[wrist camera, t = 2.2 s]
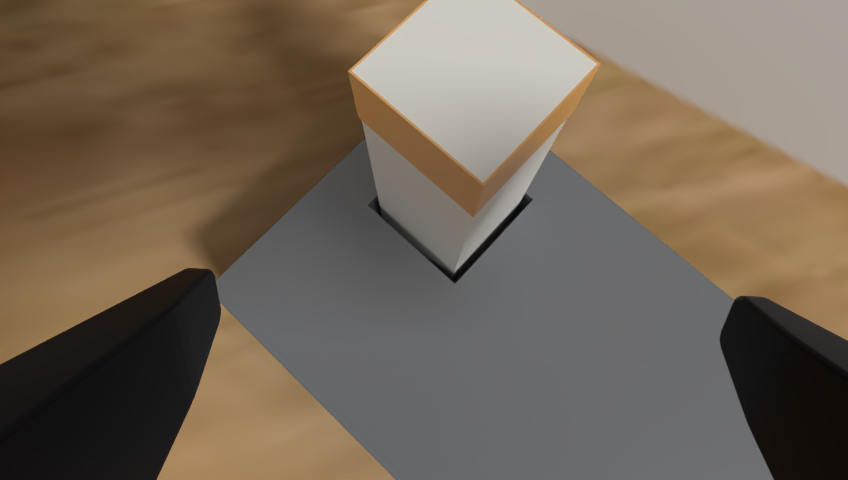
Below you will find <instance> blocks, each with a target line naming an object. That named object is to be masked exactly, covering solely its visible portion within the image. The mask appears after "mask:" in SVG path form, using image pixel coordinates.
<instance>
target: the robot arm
mask: <svg viewBox="0 0 848 480" xmlns="http://www.w3.org/2000/svg"><path fill="white" fill-rule="evenodd" d="M220 316H221V307H220V301H219V296H218V290H217V285H216V280H215V276H214V273H213V272H212V271H211V270H210V269H198V268H187V269H184V270H183V271H181V272H179V273H177V274H175V275H173V276H171V277H169V278H167V279H165V280H163V281H161V282H159V283H157V284H155V285H153V286H152V287H150V288H148V289H146V290H144V291H142V292H140V293H138V294H136V295H134V296H132V297H130V298H128V299H126V300H124V301H122V302H121V303H119V304H117V305H115V306H113V307H111V308H109V309H107V310H105V311H103V312H101V313H99V314H97V315H95V316H93V317H91V318H89V319H88V320H86V321H84V322H82V323H80V324H78V325H76V326H74V327H72V328H70V329H68V330H66V331H64V332H62V333H60V334H58V335H57V336H55V337H53V338H51V339H49V340H47V341H45V342H43V343H41V344H39V345H37V346H35V347H33V348H31V349H29V350H27V351H25V352H24V353H22V354H20V355H18V356H16V357H14V358H12V359H10V360H8V361H6V362H4V363H2V364H0V480H157V477H158V475H159V473H160V471H161V469H162V467H163V465H164V462H165V460H166V458H167V456H168V454H169V452H170V449H171V447H172V445H173V443H174V441H175V439H176V437H177V434H178V432H179V430H180V428H181V426H182V424H183V421H184V419H185V417H186V415H187V413H188V411H189V408H190V406H191V404H192V401H193V399H194V397H195V394H196V391H197V389H198V386H199V383H200V380H201V377H202V374H203V371H204V368H205V364H206V361H207V358H208V355H209V352H210V349H211V346H212V343H213V340H214V337H215V334H216V331H217V328H218V325H219V321H220ZM720 346H721V350H722V353H723V356H724V358H725V361H726V364H727V367H728V370H729V373H730V376H731V379H732V381H733V384H734V387H735V390H736V393H737V396H738V399H739V402H740V404H741V407H742V410H743V413H744V416H745V418H746V421H747V423H748V426H749V428H750V430H751V433H752V435H753V437H754V439H755V441H756V443H757V446H758V448H759V450H760V452H761V454H762V456H763V458H764V460H765V462H766V464H767V467H768V469H769V471H770V473H771V475H772V477H773V479H774V480H848V341H847V340H845V339H843V338H841V337H840V336H838V335H836V334H834V333H832V332H830V331H828V330H826V329H824V328H822V327H820V326H819V325H817V324H815V323H813V322H811V321H809V320H807V319H805V318H803V317H801V316H799V315H797V314H796V313H794V312H792V311H790V310H788V309H786V308H784V307H782V306H780V305H778V304H776V303H775V302H773V301H771V300H769V299H767V298H764V297H756V296H740V297H738V298H736V299H735V300H734V302H733V304H732V306H731V308H730V311H729V313H728V315H727V318H726V320H725V323H724V325H723V328H722V330H721V333H720Z"/></svg>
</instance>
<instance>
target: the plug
mask: <svg viewBox="0 0 848 480" xmlns="http://www.w3.org/2000/svg"><path fill="white" fill-rule="evenodd" d="M599 66H600V63H599V62H598V61H596V60H595V59H594V58H592V57H591V56H590V55H588V54H587V53H586V52H585V51H583V50H582V49H581V48H579V47H578V46H577V45H575V44H574V43H573V42H571V41H570V40H569V39H568V38H566V37H565V36H564V35H562V34H561V33H560V32H558V31H557V30H556V29H554V28H553V27H552V26H551V25H549V24H548V23H547V22H545V21H544V20H543V19H541V18H540V17H539V16H537V15H536V14H535V13H533V12H532V11H531V10H530V9H528V8H527V7H526V6H524V5H523V4H522V3H520V2H519V1H518V0H425V1H424V2H423V3H422V4H421V5H420V6H419V7H417V8H416V9H415V10H414V11H413V12H412V13H411V14H410V15H409V16H408V17H406V18H405V19H404V20H403V21H402V22H401V23H400V24H399V25H398V26H397V27H396V28H394V29H393V30H392V31H391V32H390V33H389V34H388V35H387V36H386V37H385V38H383V39H382V40H381V41H380V42H379V43H378V44H377V45H376V46H375V47H374V48H373V49H371V50H370V51H369V52H368V53H367V54H366V55H365V56H364V57H363V58H362V59H360V60H359V61H358V62H357V63H356V64H355V65H354V66H353V67H352V68H351V69H350V70H348V74H349V78H350V83H351V87H352V92H353V96H354V101H355V105H356V110H357V114H358V118H359V119H360V120H362V124H363V129H364V133H365V138H366V143H367V148H368V152H369V157H370V162H371V167H372V171H373V176H374V181H375V186H376V190H377V195H378V200H379V205H380V209H381V214H382V218H383V219H384V220H385V221H386V222H387V223H388V224H389V225H390V226H391V227H393V228H394V229H395V230H396V231H397V232H398V233H399V234H400V235H401V236H403V237H404V238H405V239H406V240H407V241H408V242H409V243H410V244H411V245H413V246H414V247H415V248H416V249H417V250H418V251H419V252H420V253H421V254H422V255H424V256H425V257H426V258H427V259H428V260H429V261H430V262H431V263H432V264H434V265H435V266H436V267H437V268H438V269H439V270H440V271H441V272H442V273H444V274H445V275H446V276H447V277H448V278H449V279H450V280H451V281H452V282H453V281H454V280H455V279H456V278H457V277H458V276H459V275H460V274H461V273H462V272H463V271H464V269H465V268H466V267H467V266H468V265H469V264H470V263H471V262H472V261H473V260H474V259H475V258H476V256H477V255H478V254H479V253H480V252H481V251H482V250H483V249H484V248H485V247H486V246H487V245H488V243H489V242H490V241H491V240H492V239H493V238H494V237H495V236H496V235H497V234H498V233H499V232H500V231H501V229H502V228H503V227H504V226H505V225H506V224H507V223H508V222H509V221H510V219H511V218H512V216H513V214H514V212H515V210H516V209H517V207H518V205H519V203H520V201H521V200H522V198H523V196H524V194H525V192H526V191H527V189H528V187H529V185H530V184H531V182H532V180H533V178H534V176H535V175H536V173H537V171H538V169H539V167H540V166H541V164H542V162H543V160H544V158H545V157H546V155H547V153H548V151H549V150H550V148H551V146H552V144H553V142H554V141H555V139H556V137H557V135H558V133H559V132H560V130H561V128H562V126H563V124H564V123H565V121H566V119H567V118H568V117H569V116H570V115H571V114H572V112H573V111H574V110H575V108H576V106H577V105H578V103H579V101H580V99H581V98H582V96H583V94H584V92H585V91H586V89H587V87H588V85H589V84H590V82H591V80H592V78H593V77H594V75H595V73H596V71H597V70H598V68H599Z"/></svg>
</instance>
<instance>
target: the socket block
mask: <svg viewBox="0 0 848 480" xmlns="http://www.w3.org/2000/svg"><path fill="white" fill-rule="evenodd" d="M216 285H217V290H218V296H219V301H220V303H221V304H222V305H223V306H224V307H225V308H226V309H227V310H228V311H229V312H230V313H231V314H232V315H233V316H234V317H235V318H236V319H237V320H238V321H239V322H240V323H241V324H242V325H243V326H244V327H245V328H246V329H247V330H248V331H249V332H250V333H251V334H252V335H253V336H254V337H255V338H256V339H257V340H258V341H259V342H260V343H261V344H262V345H263V346H264V347H265V348H266V349H267V350H268V351H269V352H270V353H271V354H272V355H273V356H274V357H275V358H276V359H277V360H278V361H279V362H280V363H281V364H282V365H283V366H284V367H285V368H286V369H287V370H288V371H289V372H290V374H291V375H292V376H293V377H294V378H295V379H296V380H297V381H298V382H299V383H300V384H301V385H302V386H303V387H304V388H305V389H306V390H307V391H308V392H309V393H310V394H311V395H312V396H313V397H314V398H315V399H316V400H317V401H318V402H319V403H320V404H321V405H322V406H323V407H324V408H325V409H326V410H327V411H328V412H329V413H330V414H331V415H332V416H333V417H334V418H335V419H336V420H337V421H338V422H339V423H340V424H341V425H342V426H343V427H344V428H345V429H346V430H347V431H348V432H349V433H350V434H351V435H352V436H353V437H354V438H355V439H356V440H357V441H358V442H359V443H360V444H361V445H362V446H363V447H364V448H365V449H366V450H367V451H368V452H369V453H370V454H371V455H372V456H373V457H374V458H375V459H376V460H377V461H378V462H379V463H380V464H381V465H382V466H383V467H384V468H385V469H386V470H387V471H388V472H389V473H390V474H391V475H392V476H393V477H394V478H395V479H396V480H774V479H773V477H772V475H771V473H770V471H769V469H768V467H767V464H766V462H765V460H764V458H763V456H762V454H761V452H760V450H759V448H758V446H757V443H756V441H755V439H754V437H753V435H752V433H751V430H750V428H749V426H748V423H747V421H746V418H745V416H744V413H743V410H742V407H741V404H740V402H739V399H738V396H737V393H736V390H735V387H734V384H733V381H732V379H731V376H730V373H729V370H728V367H727V364H726V361H725V358H724V356H723V353H722V350H721V346H720V333H721V330H722V328H723V325H724V323H725V320H726V318H727V315H728V313H729V311H730V308H731V306H732V304H733V302H734V300H733V299H732V298H731V297H730V296H728V295H727V294H726V293H725V292H723V291H722V290H721V289H720V288H719V287H717V286H716V285H715V284H714V283H712V282H711V281H710V280H709V279H708V278H706V277H705V276H704V275H703V274H701V273H700V272H699V271H698V270H696V269H695V268H694V267H693V266H692V265H690V264H689V263H688V262H687V261H685V260H684V259H683V258H682V257H681V256H679V255H678V254H677V253H676V252H674V251H673V250H672V249H671V248H669V247H668V246H667V245H666V244H665V243H663V242H662V241H661V240H660V239H658V238H657V237H656V236H655V235H653V234H652V233H651V232H650V231H649V230H647V229H646V228H645V227H644V226H642V225H641V224H640V223H639V222H638V221H636V220H635V219H634V218H633V217H631V216H630V215H629V214H628V213H626V212H625V211H624V210H623V209H622V208H620V207H619V206H618V205H617V204H615V203H614V202H613V201H612V200H611V199H609V198H608V197H607V196H606V195H604V194H603V193H602V192H601V191H599V190H598V189H597V188H596V187H595V186H593V185H592V184H591V183H590V182H588V181H587V180H586V179H585V178H583V177H582V176H581V175H580V174H579V173H577V172H576V171H575V170H574V169H572V168H571V167H570V166H569V165H568V164H566V163H565V162H564V161H563V160H561V159H560V158H559V157H558V156H556V155H555V154H554V153H553V152H552V151H550V150H549V151H548V153H547V155H546V157H545V158H544V160H543V162H542V164H541V166H540V167H539V169H538V171H537V173H536V175H535V176H534V178H533V180H532V182H531V184H530V185H529V187H528V189H527V191H526V192H525V194H524V196H523V198H522V200H521V201H520V203H519V205H518V207H517V209H516V210H515V212H514V214H513V216H512V218H511V219H510V221H509V222H508V223H507V224H506V225H505V226H504V227H503V228H502V229H501V231H500V232H499V233H498V234H497V235H496V236H495V237H494V238H493V239H492V240H491V241H490V242H489V243H488V245H487V246H486V247H485V248H484V249H483V250H482V251H481V252H480V253H479V254H478V255H477V256H476V258H475V259H474V260H473V261H472V262H471V263H470V264H469V265H468V266H467V267H466V268H465V269H464V271H463V272H462V273H461V274H460V275H459V276H458V277H457V278H456V279H455V280H454V281H453V282H452V281H451V280H450V279H449V278H448V277H447V276H446V275H445V274H444V273H442V272H441V271H440V270H439V269H438V268H437V267H436V266H435V265H434V264H432V263H431V262H430V261H429V260H428V259H427V258H426V257H425V256H424V255H422V254H421V253H420V252H419V251H418V250H417V249H416V248H415V247H414V246H413V245H411V244H410V243H409V242H408V241H407V240H406V239H405V238H404V237H403V236H401V235H400V234H399V233H398V232H397V231H396V230H395V229H394V228H393V227H391V226H390V225H389V224H388V223H387V222H386V221H385V220H384V219H383V218H382V214H381V209H380V205H379V200H378V195H377V190H376V186H375V181H374V176H373V171H372V167H371V162H370V157H369V152H368V148H367V143H366V138H364V139H363V140H362V141H361V142H360V143H359V144H358V145H357V146H356V147H355V148H354V149H353V150H352V151H351V152H350V153H348V154H347V155H346V156H345V157H344V158H343V159H342V160H341V161H340V162H339V163H338V164H337V165H336V166H335V167H334V168H333V169H332V170H331V171H330V172H329V173H328V174H327V175H325V176H324V177H323V178H322V179H321V180H320V181H319V182H318V183H317V184H316V185H315V186H314V187H313V188H312V189H311V190H310V191H309V192H308V193H307V194H306V195H305V196H303V197H302V198H301V199H300V200H299V201H298V202H297V203H296V204H295V205H294V206H293V207H292V208H291V209H290V210H289V211H288V212H287V213H286V214H285V215H284V216H283V217H282V218H280V219H279V220H278V221H277V222H276V223H275V224H274V225H273V226H272V227H271V228H270V229H269V230H268V231H267V232H266V233H265V234H264V235H263V236H262V237H261V238H260V239H259V240H257V241H256V242H255V243H254V244H253V245H252V246H251V247H250V248H249V249H248V250H247V251H246V252H245V253H244V254H243V255H242V256H241V257H240V258H239V259H238V260H237V261H236V262H234V263H233V264H232V265H231V266H230V267H229V268H228V269H227V270H226V271H225V272H224V273H223V274H222V275H221V276H220V277H219V278H218V279H217V280H216Z"/></svg>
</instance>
